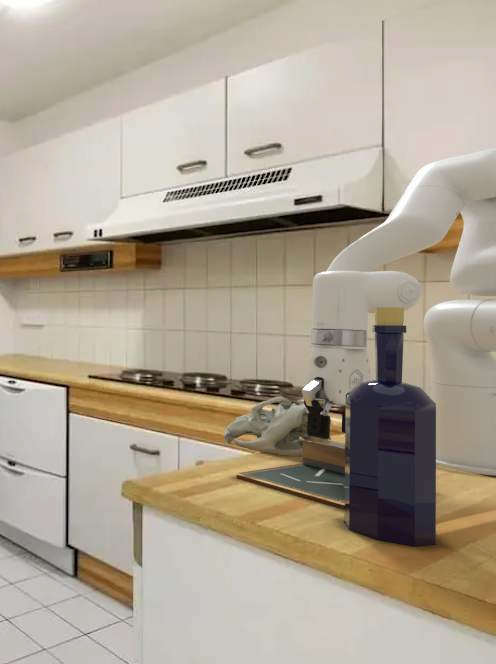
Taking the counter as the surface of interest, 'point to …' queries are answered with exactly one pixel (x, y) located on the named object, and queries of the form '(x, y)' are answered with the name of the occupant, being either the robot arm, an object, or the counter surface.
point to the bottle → (390, 447)
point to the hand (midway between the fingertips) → (335, 435)
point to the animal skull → (272, 428)
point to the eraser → (324, 454)
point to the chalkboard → (303, 482)
